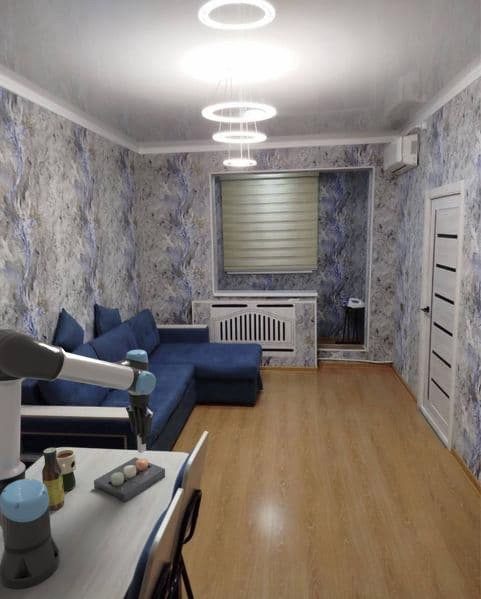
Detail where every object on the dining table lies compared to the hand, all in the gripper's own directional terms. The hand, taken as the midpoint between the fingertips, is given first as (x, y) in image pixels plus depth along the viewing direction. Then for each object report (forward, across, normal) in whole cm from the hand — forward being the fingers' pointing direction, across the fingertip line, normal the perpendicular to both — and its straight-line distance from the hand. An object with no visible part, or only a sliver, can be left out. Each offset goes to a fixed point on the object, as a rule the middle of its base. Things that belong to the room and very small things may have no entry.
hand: (142, 450), depth 169 cm
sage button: (+7, 0, +12) cm, 14 cm away
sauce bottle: (+9, +11, +30) cm, 34 cm away
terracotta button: (+8, 0, 0) cm, 8 cm away
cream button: (+8, 0, +6) cm, 10 cm away
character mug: (+10, +17, +21) cm, 29 cm away
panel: (+10, 0, +6) cm, 11 cm away
